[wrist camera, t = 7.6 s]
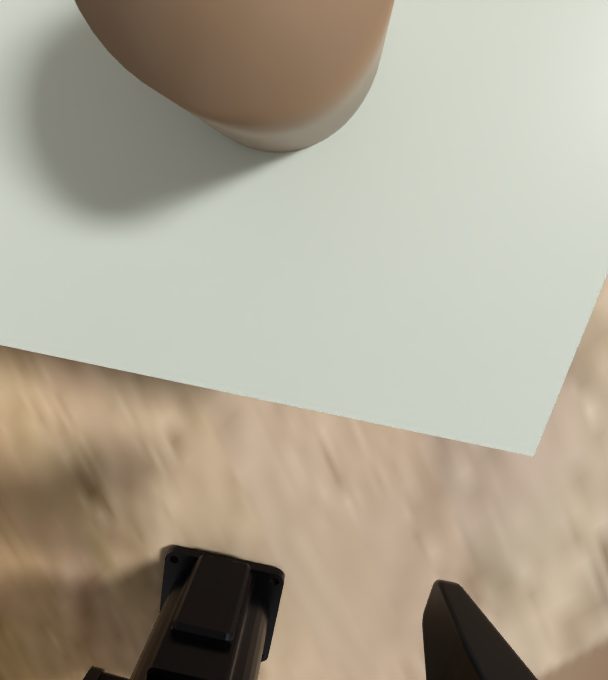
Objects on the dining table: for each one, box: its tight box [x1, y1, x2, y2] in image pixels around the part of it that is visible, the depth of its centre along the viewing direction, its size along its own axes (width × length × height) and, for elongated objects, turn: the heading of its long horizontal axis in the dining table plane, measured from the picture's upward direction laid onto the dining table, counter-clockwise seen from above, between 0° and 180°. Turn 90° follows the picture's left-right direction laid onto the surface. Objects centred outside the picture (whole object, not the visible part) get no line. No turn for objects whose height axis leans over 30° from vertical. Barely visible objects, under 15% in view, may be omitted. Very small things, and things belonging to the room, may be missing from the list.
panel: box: [0, 0, 608, 457], centre depth 5 cm, size 12×12×4 cm
